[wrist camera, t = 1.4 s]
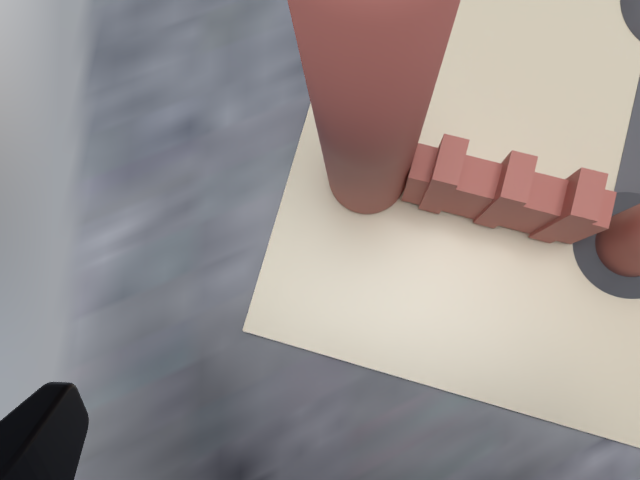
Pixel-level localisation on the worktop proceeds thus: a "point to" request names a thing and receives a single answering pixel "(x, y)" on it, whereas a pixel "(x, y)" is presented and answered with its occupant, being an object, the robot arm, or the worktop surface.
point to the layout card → (483, 231)
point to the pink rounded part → (420, 125)
